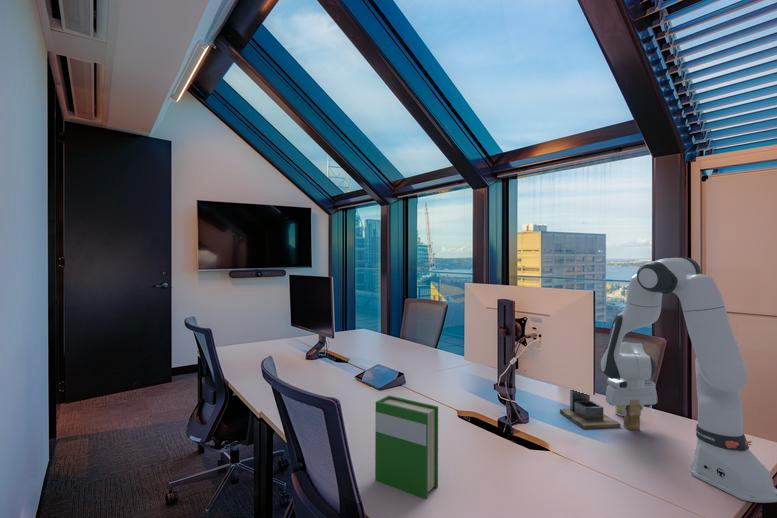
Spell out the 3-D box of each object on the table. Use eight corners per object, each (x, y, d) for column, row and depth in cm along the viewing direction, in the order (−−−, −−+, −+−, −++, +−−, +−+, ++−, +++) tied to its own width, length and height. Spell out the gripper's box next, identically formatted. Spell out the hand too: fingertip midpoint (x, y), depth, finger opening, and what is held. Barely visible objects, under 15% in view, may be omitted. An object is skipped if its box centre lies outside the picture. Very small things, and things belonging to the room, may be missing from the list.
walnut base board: (620, 427, 163) (620, 423, 163) (583, 429, 162) (583, 425, 162) (593, 411, 181) (593, 407, 181) (559, 412, 180) (559, 409, 180)
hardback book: (437, 487, 119) (438, 406, 120) (426, 499, 113) (426, 414, 113) (388, 470, 129) (388, 395, 129) (375, 480, 123) (375, 401, 123)
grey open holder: (603, 419, 168) (603, 385, 168) (585, 420, 167) (585, 386, 167) (587, 409, 180) (587, 378, 180) (570, 410, 179) (570, 378, 179)
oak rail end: (639, 429, 161) (639, 399, 161) (630, 430, 161) (630, 400, 161) (632, 425, 165) (632, 396, 165) (623, 426, 165) (623, 396, 165)
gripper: (649, 378, 167) (649, 411, 167) (603, 379, 165) (603, 413, 165) (661, 382, 161) (661, 417, 161) (613, 384, 159) (613, 419, 159)
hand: (631, 415), depth 163 cm, fingers closed on oak rail end, 4 cm apart
